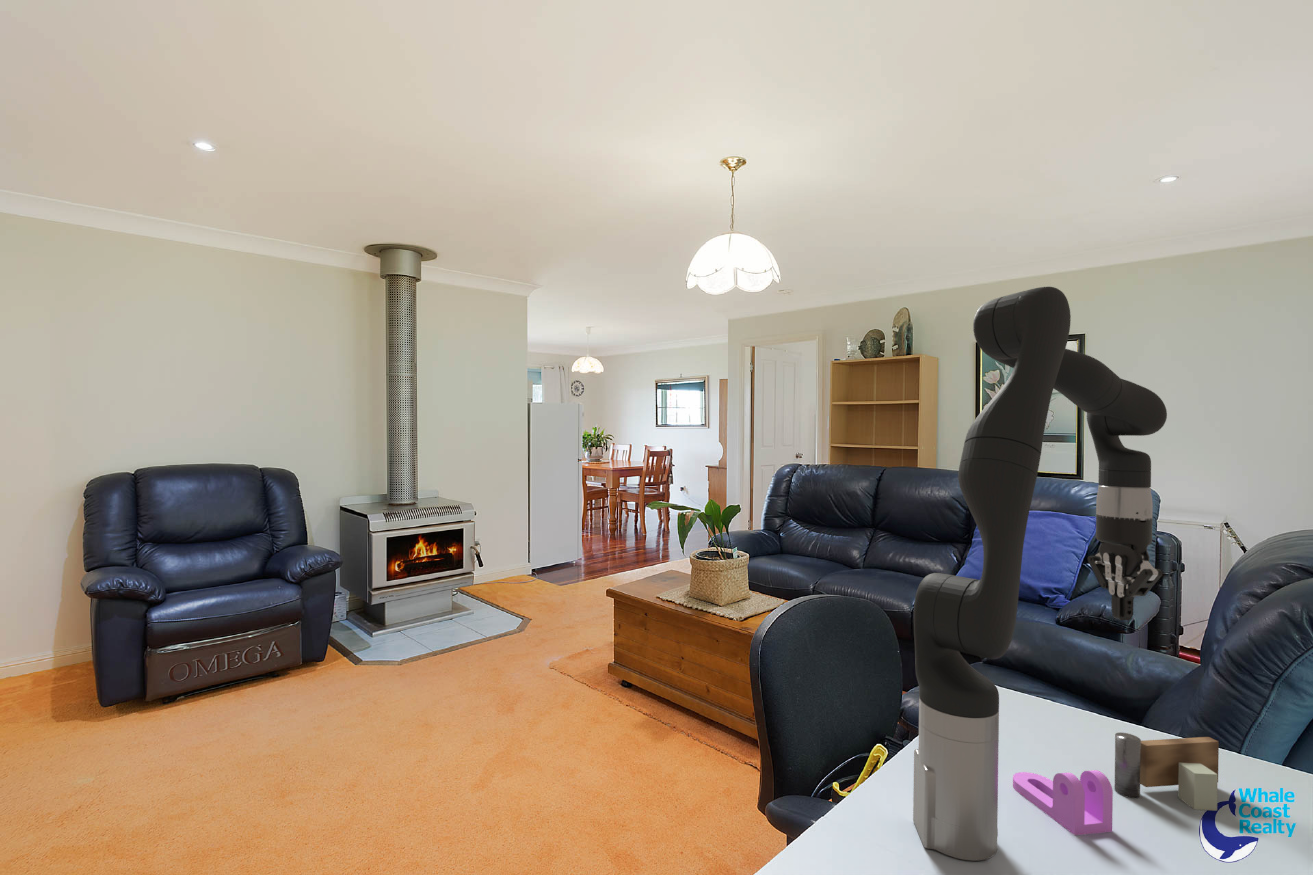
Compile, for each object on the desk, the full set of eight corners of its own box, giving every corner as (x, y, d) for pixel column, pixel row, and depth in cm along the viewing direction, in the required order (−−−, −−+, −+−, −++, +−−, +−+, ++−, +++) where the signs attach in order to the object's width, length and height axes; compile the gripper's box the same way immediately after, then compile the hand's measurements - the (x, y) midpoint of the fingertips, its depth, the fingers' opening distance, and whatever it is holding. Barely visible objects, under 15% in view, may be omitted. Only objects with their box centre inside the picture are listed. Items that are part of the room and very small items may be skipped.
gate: (1145, 787, 93) (1146, 745, 93) (1136, 781, 94) (1137, 740, 94) (1218, 782, 95) (1218, 741, 95) (1208, 776, 96) (1208, 736, 96)
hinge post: (1121, 796, 92) (1122, 740, 92) (1110, 785, 95) (1110, 731, 95) (1144, 798, 92) (1145, 742, 92) (1132, 787, 95) (1133, 733, 95)
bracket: (1112, 832, 84) (1112, 778, 84) (1074, 836, 83) (1075, 782, 83) (1037, 779, 97) (1037, 733, 97) (1004, 782, 96) (1004, 736, 96)
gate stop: (1194, 809, 89) (1194, 773, 89) (1178, 797, 92) (1178, 762, 92) (1217, 810, 89) (1217, 774, 89) (1200, 798, 92) (1200, 763, 92)
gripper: (1072, 509, 112) (1071, 608, 112) (1136, 518, 99) (1134, 631, 99) (1112, 509, 113) (1110, 608, 113) (1180, 519, 100) (1179, 630, 100)
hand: (1122, 618), depth 106 cm, fingers closed
